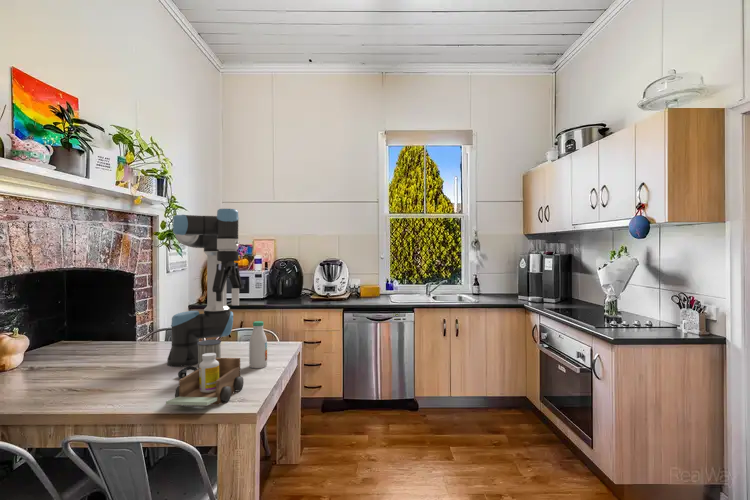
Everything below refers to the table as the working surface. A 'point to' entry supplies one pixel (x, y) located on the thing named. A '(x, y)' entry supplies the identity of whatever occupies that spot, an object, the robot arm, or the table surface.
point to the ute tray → (224, 385)
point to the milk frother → (203, 348)
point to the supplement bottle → (208, 373)
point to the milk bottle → (258, 346)
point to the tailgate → (191, 401)
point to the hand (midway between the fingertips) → (228, 307)
